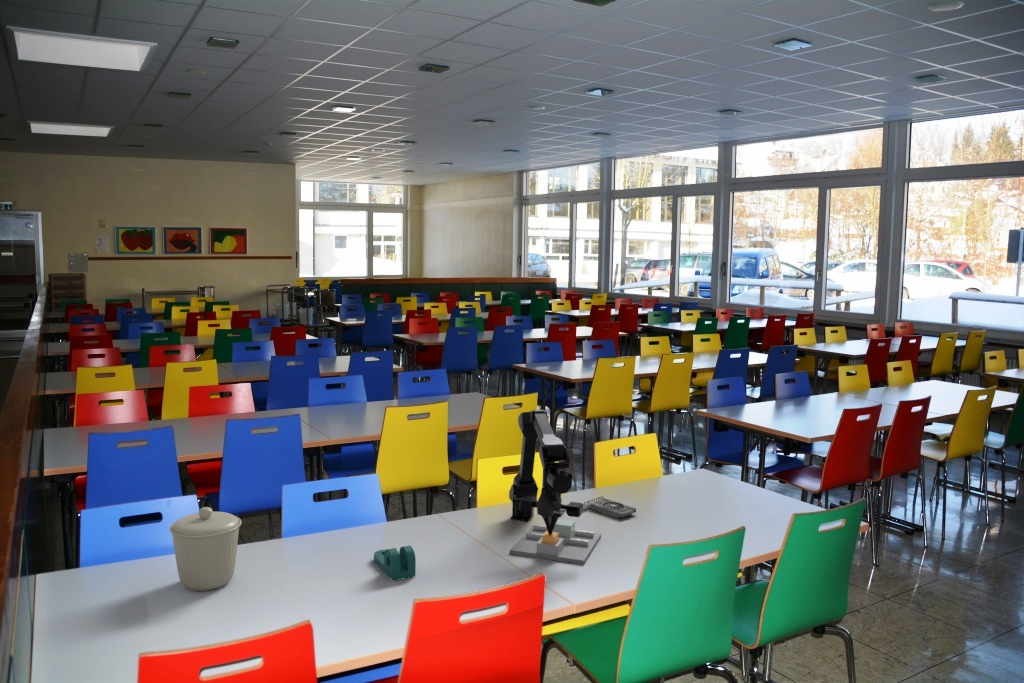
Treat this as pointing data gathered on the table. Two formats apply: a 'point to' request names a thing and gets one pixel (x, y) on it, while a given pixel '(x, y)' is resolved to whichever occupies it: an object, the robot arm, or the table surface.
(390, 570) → the bracket
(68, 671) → the table surface
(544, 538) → the button
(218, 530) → the canister
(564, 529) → the block
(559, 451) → the robot arm
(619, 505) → the graphics card
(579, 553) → the rail board
